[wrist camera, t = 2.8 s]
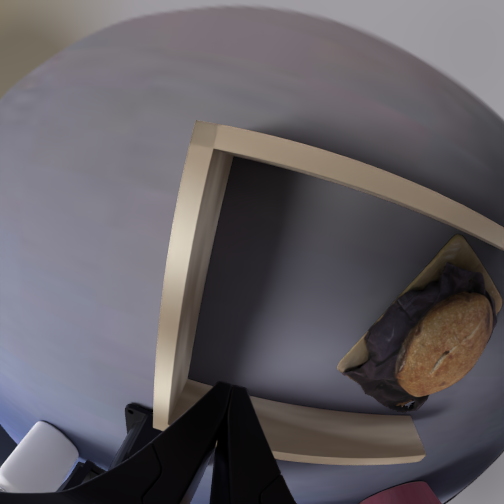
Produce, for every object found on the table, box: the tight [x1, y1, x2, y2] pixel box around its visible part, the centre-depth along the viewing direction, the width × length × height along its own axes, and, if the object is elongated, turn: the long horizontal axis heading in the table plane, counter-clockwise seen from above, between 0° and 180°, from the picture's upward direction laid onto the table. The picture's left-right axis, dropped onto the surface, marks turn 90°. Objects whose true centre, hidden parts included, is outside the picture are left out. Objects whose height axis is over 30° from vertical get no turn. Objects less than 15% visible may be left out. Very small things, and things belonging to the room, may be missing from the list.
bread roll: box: [337, 234, 503, 413], centre depth 13 cm, size 11×8×4 cm
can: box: [0, 421, 79, 493], centre depth 16 cm, size 6×6×12 cm
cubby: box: [153, 120, 504, 465], centre depth 12 cm, size 15×17×4 cm
